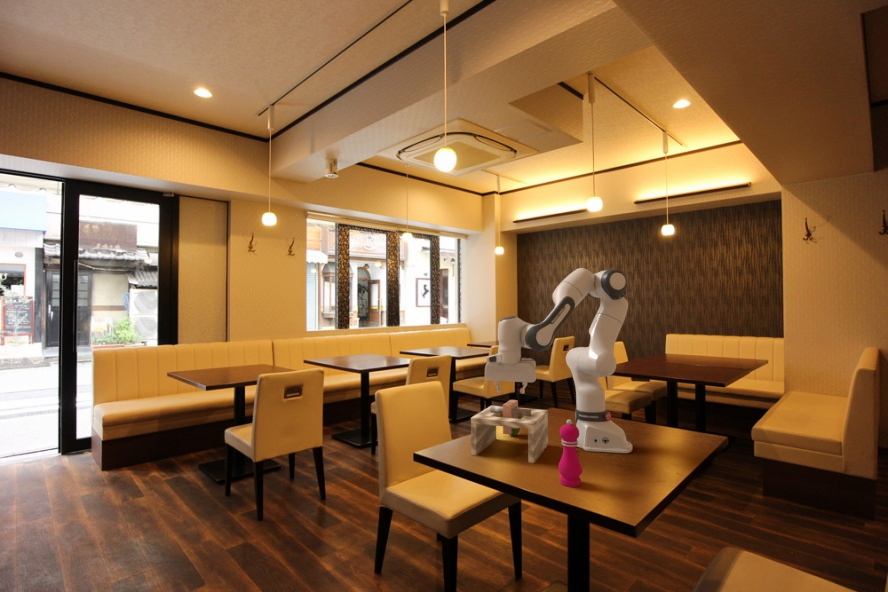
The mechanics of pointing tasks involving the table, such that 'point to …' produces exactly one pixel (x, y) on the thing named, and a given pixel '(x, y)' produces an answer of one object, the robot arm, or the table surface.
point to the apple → (516, 431)
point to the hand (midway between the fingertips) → (510, 392)
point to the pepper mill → (570, 456)
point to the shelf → (488, 420)
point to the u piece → (509, 414)
